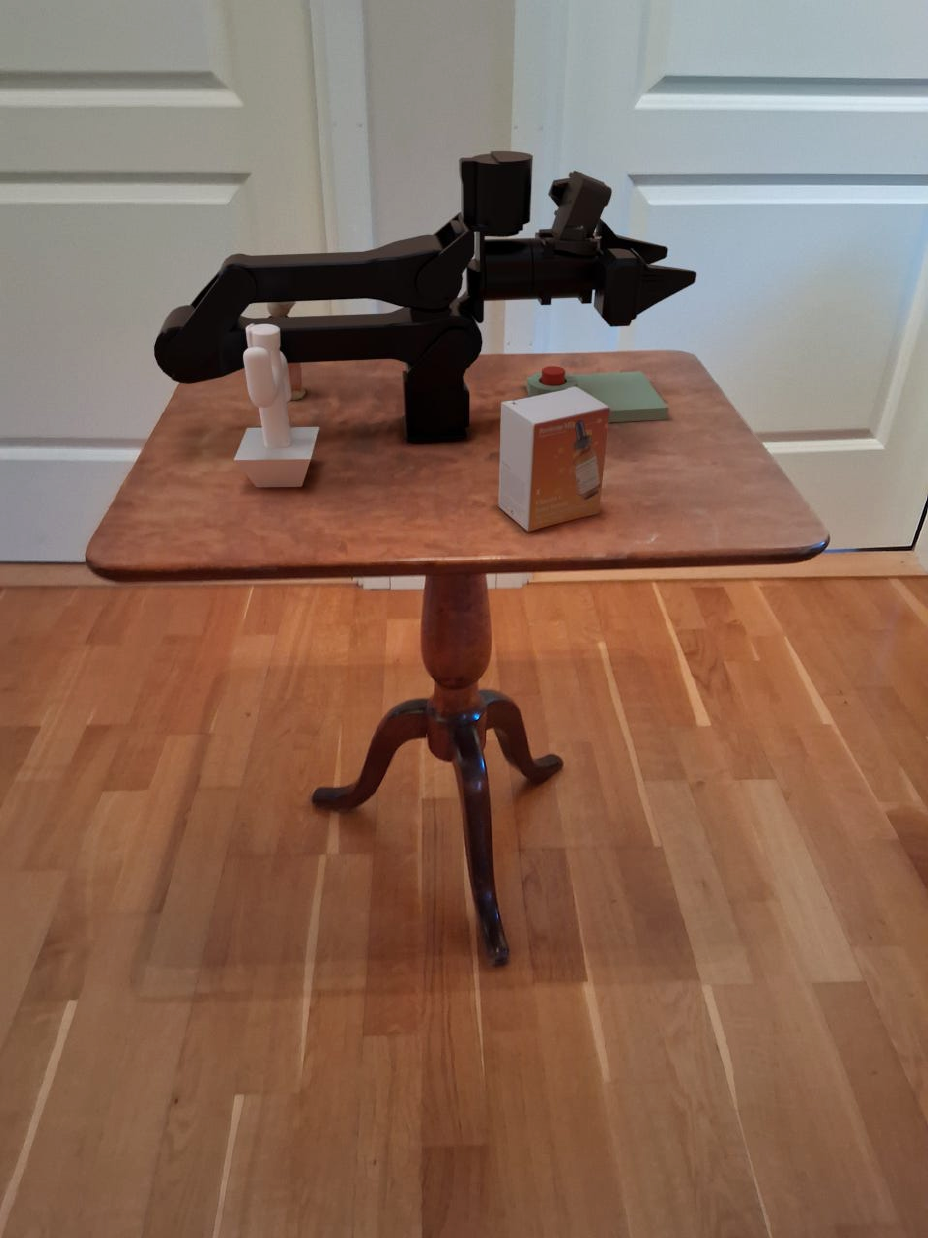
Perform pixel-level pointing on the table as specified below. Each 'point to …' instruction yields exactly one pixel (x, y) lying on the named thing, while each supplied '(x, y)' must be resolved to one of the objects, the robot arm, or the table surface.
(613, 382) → the scale
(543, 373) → the button
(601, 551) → the table surface
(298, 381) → the grandmother figurine
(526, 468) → the small box
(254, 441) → the figurine
